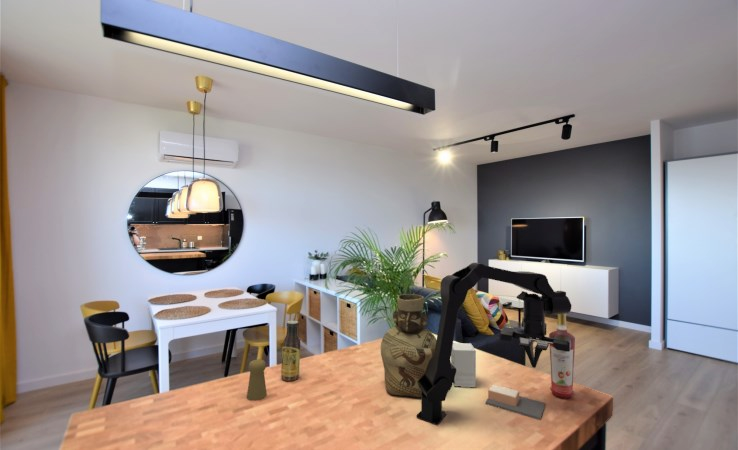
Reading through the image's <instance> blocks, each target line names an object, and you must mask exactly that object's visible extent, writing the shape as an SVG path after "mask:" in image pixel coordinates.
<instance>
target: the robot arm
mask: <svg viewBox="0 0 738 450" xmlns="http://www.w3.org/2000/svg"><path fill="white" fill-rule="evenodd" d="M482 278H483V279H488V280H492V281H497V282H502V283H507V284H511V285H513V286H516V287H518V288H520V289H523V290H526V291H521V292H520V293H519V294H518V295H516V299H518V300H521V301H523V316H522V319H521V327H522V328H523V332H519V331H517V328H514V327H509V326H504V327H503V328H502V329H500V331H499V333H498V334H499V336H498V337H499V340H501V341H506V342H511V341H513V339H519V344H518V345H519V346H520V347H522V348H523V350H524V351H525V354H526V356H527V358H528V359H529V362H530V364H531V367H532V368H533V369H535V368H536V367H537V366H538V362H539V360H540V359H539V358H540V356H541V354H542V353H543V351H546V352H547V351H548V348H549V347H550V344H552V345H553V346H554V348H555V349H556V350H561V351H566V352H569V351H570V348H571V339H570V338H569V337H566V336H560V335H555V337H554V338H550V337H549V336H547V325H548V324H547V323H546V319H545V317H546V315H545V313H546V314H548V315H558V314H566V315H567V314H570V312H571V310H572V303H571V301H570V298H569V297H568V296H567V292H566V291H563V290H555V289H553V288H552V286H551V285H550V283H549V279H548V278H547V276H546V275H545V274H542V273H539V272H538V273H537V272H534V271H524V270H523V271H521V270H519V271H512V270H508V269H503V268H498V267H494V266H489V265H485V264H484V263H479V262H472V263H470V264H469V265H467V266H466V267H463V268H462V269H459V270H457V271H455V272H454V273H452V274H448V275H445V277H443V278H441V281H440V298H441V304H442V306H441V311H440V312H441V313H440V318H439V324H438V329H437V336H436V346H435V352H434V355H433V356H432V358H431V359H430V361H429V363H428V366H427V368H426V372H425V374H424V375H423V376H422V377H421V378H420V379H419V380H418V381H417V383H418V385H419V388H420V389H421V390H422V393H421V402H420V403H421V410H420V411H419V412H418V413H417V414H416V418H417V419H420V420H423V421H426V422H428V423H432V424H434V425H439V424H440V423H441V422H442V421H443V419H444V418H445V417H446V416H447V412H445V411H444V410H443V402H445V400H446V398H447V396H448V393H449V391H450V390H451V389H452V386H453V385H454V384H455V381H454V378H455V374H456V368H455V367H454V366H453V365H452V364H451V352H452V346H453V343H454V339H455V333H456V330H457V329H456V328H457V322H458V315H459V312H460V308H461V307H462V306H463V304H464V303H465V301H466V298H467V296H468V293H469V291H470V290H471V289H473V288H474V287H475V286H476V285H477V284H478V282H479V281H480V280H481V279H482ZM527 291H529V292H532V293H528V292H527ZM540 295H541V296H540ZM534 343H536V345H535V347H534ZM442 410H443V411H442Z"/></svg>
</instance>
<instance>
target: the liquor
mask: <svg viewBox="0 0 738 450" xmlns="http://www.w3.org/2000/svg"><path fill="white" fill-rule="evenodd" d="M555 335H560V336H566V337H569V338H570V339H571V348H570V351H569V352H566V351H561V350H556V349H555V348H554V346H553V345H552V344H549V360H550V377H551V378H550V379H551V380H550V381H551V386H550V387H549V390H550V391H551V392H552V394H553V395H554V396H555V397H557V396H558V398H560V397H561V399H570V398H571V397H573V396H574V395H575V391H574V364H575V352H576V351H575V349H576V337H575V336H574V335H573V334H572V333H570V332H568V327H567V314H557V321H556V330H554V331H551V332H550V333H548V337H550V338H554V337H555Z"/></svg>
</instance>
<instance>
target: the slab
mask: <svg viewBox="0 0 738 450" xmlns="http://www.w3.org/2000/svg"><path fill="white" fill-rule="evenodd" d="M519 396H520V391H519V390H516V389H512V388H508V387H504V386H501V385H496V384H492V385H491V386H490V387H489V389H488V390H487V399H491V400H495V401H498V402H502V403H505V404H509V405H512V406H516V405H517V403H518V401H519Z"/></svg>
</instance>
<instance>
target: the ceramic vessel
mask: <svg viewBox="0 0 738 450" xmlns="http://www.w3.org/2000/svg"><path fill="white" fill-rule="evenodd" d="M424 303H425V298H424V296H422V295H420V294H413V293H412V294H411V293H403V294H399V295H398V296H397V310H394V311H393V314H392V320H393V323H395V324H397V325H394V326H393V327H391V328H390V329H388V330H387V331H386V332H385V333H384V334H383V336H382V339H381V342H380V355H381V360H382V365H383V369H384V370H383V371H384V385H385V389H386V392H387V393H388V394H390V395H391V396H397V395H398V396H397V397H402V396H403V397H409V396H411V398H415V397H421V393H422V390H421V389H420V388H419V385H418V383H417V381H418V380H419V379H420V378H421V377H422V376H423V375H424V374H425V372H426V368H427V366H428V363H429V361H430V359H431V358H432V356H433V355H434V352H435V346H436V340H437V337H436V336H435V335H434V334H433V332H431V331H430V330H429V329H428V328H426V327H425V326H427V324H428V316H427V314H426V313H423V311H422V310H423V307H424Z"/></svg>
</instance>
